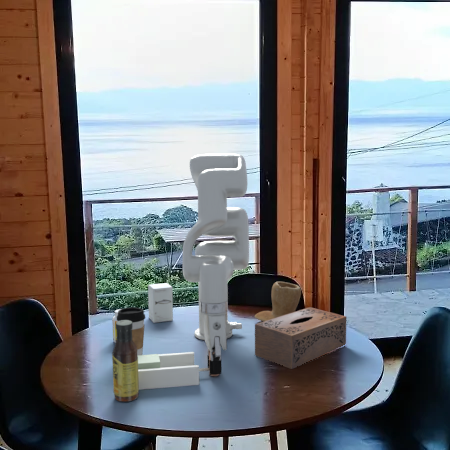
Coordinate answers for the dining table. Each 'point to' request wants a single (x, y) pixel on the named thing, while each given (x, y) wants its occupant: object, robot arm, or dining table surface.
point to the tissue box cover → (299, 336)
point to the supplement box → (160, 302)
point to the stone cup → (281, 301)
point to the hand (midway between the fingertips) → (214, 370)
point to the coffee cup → (134, 325)
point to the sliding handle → (154, 362)
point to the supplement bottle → (115, 325)
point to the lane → (170, 372)
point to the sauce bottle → (125, 363)
